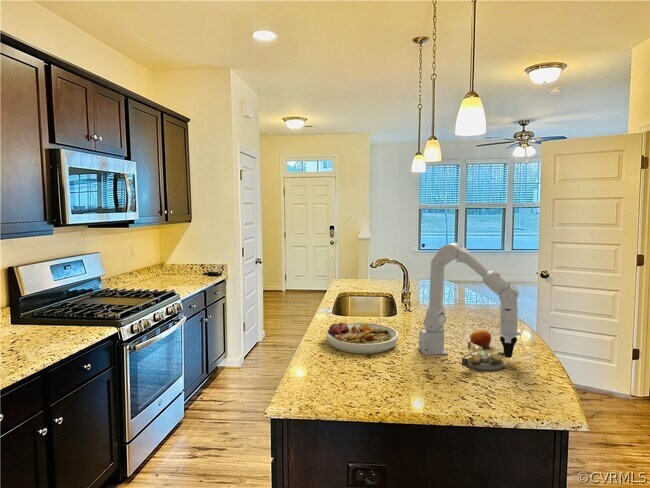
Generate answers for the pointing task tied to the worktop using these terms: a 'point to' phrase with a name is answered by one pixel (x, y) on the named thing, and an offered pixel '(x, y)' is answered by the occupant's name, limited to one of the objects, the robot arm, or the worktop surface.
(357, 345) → the bowl
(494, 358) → the knob right
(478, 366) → the level plate
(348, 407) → the worktop surface
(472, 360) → the knob left
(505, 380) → the worktop surface
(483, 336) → the fruit
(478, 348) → the knob back
